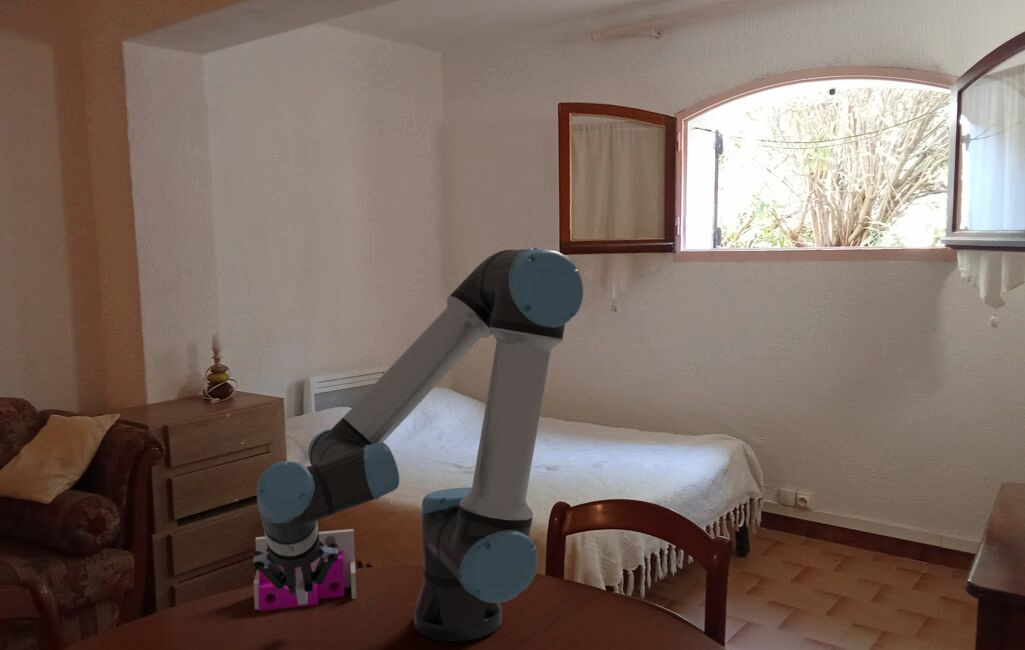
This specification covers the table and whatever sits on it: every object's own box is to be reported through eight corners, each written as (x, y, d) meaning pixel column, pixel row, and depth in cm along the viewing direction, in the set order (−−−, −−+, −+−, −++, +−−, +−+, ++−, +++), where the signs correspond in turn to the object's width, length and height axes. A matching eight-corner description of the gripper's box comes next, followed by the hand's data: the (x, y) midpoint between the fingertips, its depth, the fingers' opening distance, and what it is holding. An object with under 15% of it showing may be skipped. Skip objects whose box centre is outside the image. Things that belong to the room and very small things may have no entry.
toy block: (259, 612, 141) (257, 571, 140) (262, 597, 147) (260, 558, 147) (344, 603, 144) (342, 563, 144) (343, 589, 150) (342, 551, 150)
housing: (356, 598, 145) (354, 541, 144) (254, 609, 141) (252, 550, 141) (355, 584, 152) (353, 528, 151) (258, 594, 148) (256, 537, 147)
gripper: (245, 563, 112) (262, 623, 130) (338, 553, 115) (342, 613, 132) (247, 515, 117) (263, 579, 134) (336, 507, 119) (341, 571, 137)
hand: (302, 596), depth 133 cm, fingers closed
